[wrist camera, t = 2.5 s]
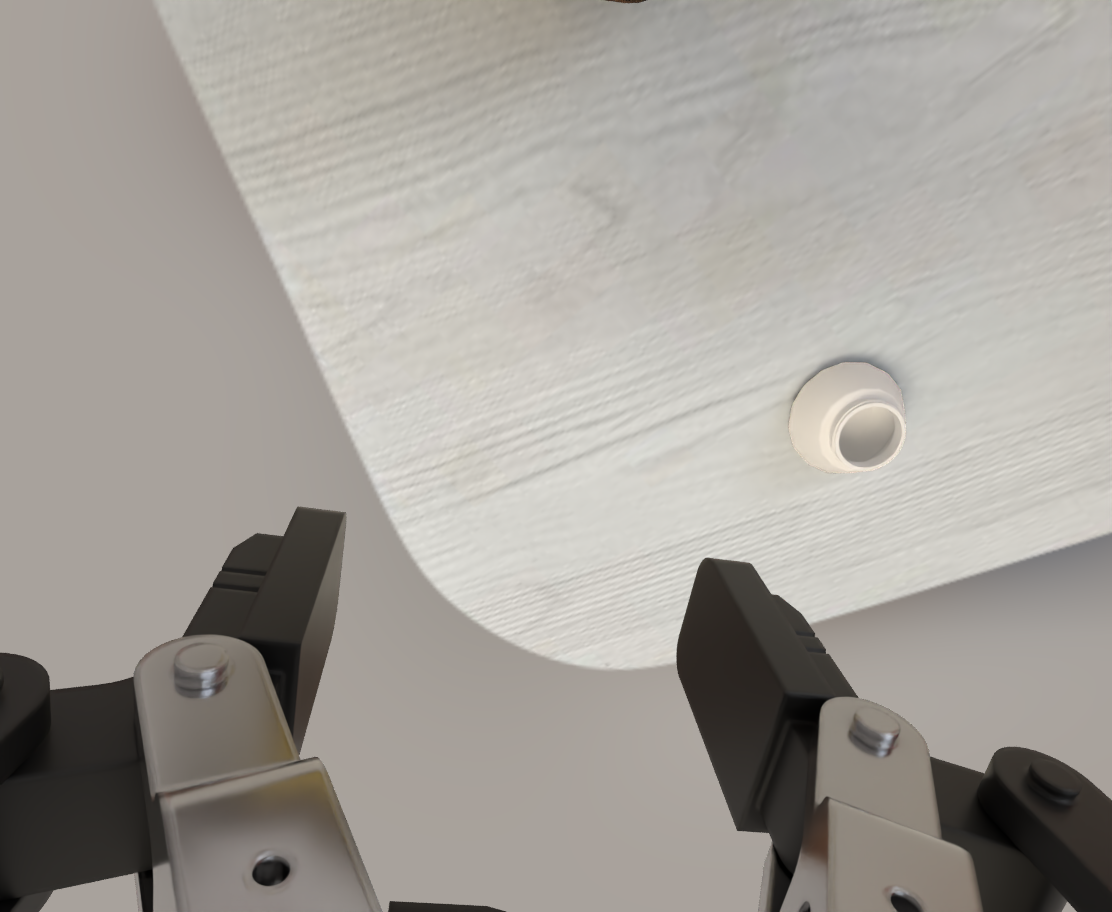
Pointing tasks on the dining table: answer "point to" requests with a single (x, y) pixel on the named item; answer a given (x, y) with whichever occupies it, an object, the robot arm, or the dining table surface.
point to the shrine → (627, 1)
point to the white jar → (848, 419)
